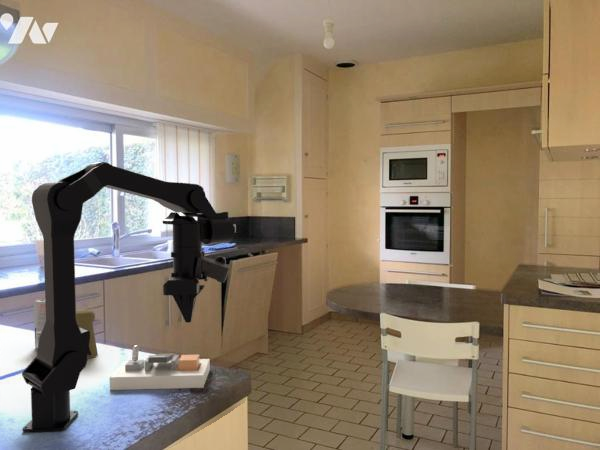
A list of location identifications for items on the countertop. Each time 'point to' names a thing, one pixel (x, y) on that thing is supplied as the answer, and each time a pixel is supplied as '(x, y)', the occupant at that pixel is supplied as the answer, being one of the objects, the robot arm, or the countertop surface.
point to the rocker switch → (161, 358)
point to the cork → (87, 328)
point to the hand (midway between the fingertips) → (188, 322)
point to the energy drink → (39, 318)
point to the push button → (189, 363)
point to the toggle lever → (135, 353)
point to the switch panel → (158, 375)
